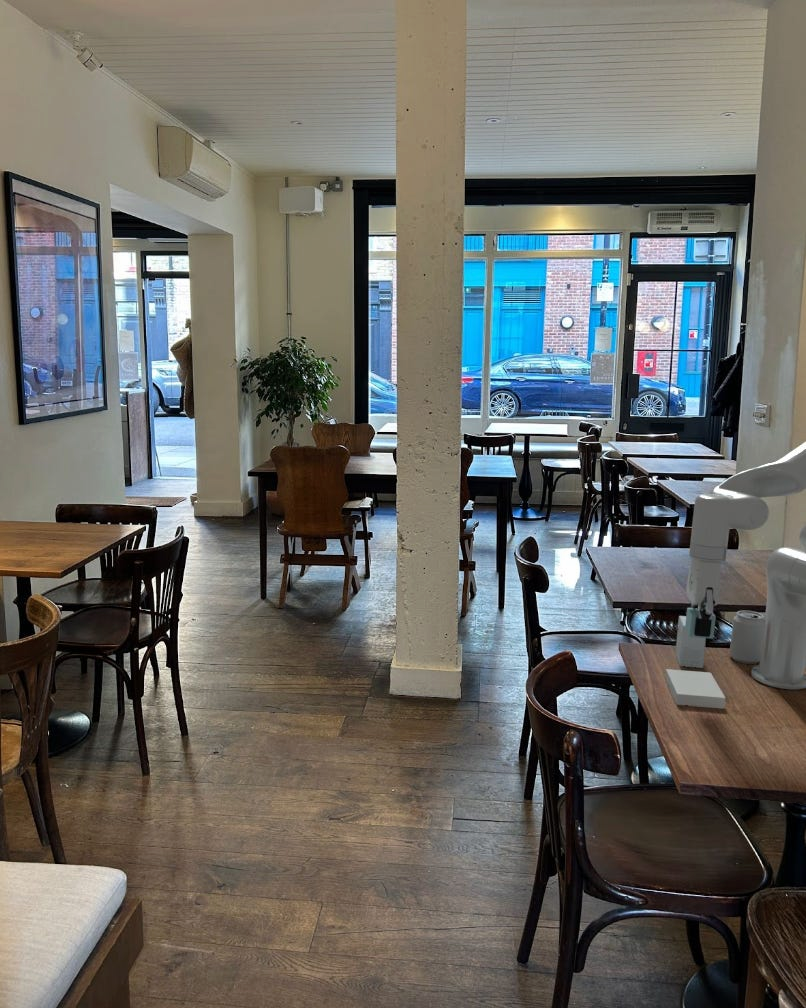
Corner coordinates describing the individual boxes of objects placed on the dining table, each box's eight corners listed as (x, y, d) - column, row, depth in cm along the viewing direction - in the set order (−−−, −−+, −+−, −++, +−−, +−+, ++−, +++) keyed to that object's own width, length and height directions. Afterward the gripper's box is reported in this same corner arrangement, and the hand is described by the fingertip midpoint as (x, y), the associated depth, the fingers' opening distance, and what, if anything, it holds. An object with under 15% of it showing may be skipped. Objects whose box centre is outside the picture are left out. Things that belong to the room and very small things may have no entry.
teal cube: (684, 629, 183) (687, 607, 182) (708, 630, 182) (710, 609, 181) (689, 636, 178) (691, 614, 177) (713, 638, 177) (715, 616, 176)
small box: (703, 669, 197) (707, 627, 195) (679, 666, 198) (683, 625, 196) (698, 657, 205) (702, 617, 203) (675, 654, 206) (678, 615, 204)
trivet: (665, 679, 190) (666, 669, 190) (709, 682, 189) (710, 672, 188) (676, 704, 176) (677, 693, 176) (724, 708, 175) (725, 697, 175)
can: (759, 667, 199) (765, 620, 197) (727, 661, 203) (732, 615, 200) (762, 657, 205) (768, 612, 203) (731, 651, 209) (736, 607, 207)
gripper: (682, 541, 185) (674, 617, 189) (698, 560, 169) (689, 643, 172) (716, 543, 184) (708, 620, 188) (736, 562, 168) (726, 646, 171)
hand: (699, 630), depth 180 cm, fingers closed on teal cube, 5 cm apart
